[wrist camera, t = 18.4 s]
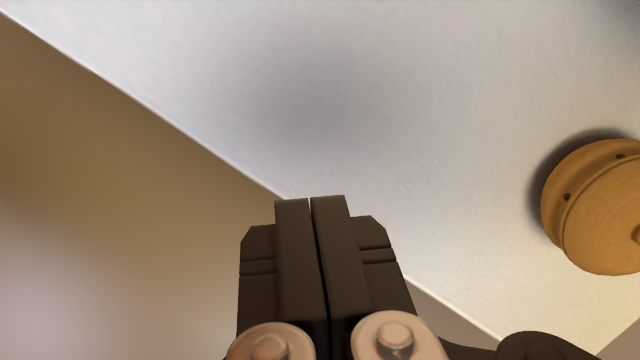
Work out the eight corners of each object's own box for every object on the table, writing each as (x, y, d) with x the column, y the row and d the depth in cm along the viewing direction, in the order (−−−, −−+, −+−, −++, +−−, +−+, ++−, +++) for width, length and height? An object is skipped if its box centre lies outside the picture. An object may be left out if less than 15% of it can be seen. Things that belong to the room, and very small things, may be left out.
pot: (562, 109, 45) (638, 159, 37) (665, 140, 48) (759, 192, 40) (502, 220, 50) (557, 287, 42) (599, 241, 53) (670, 308, 45)
